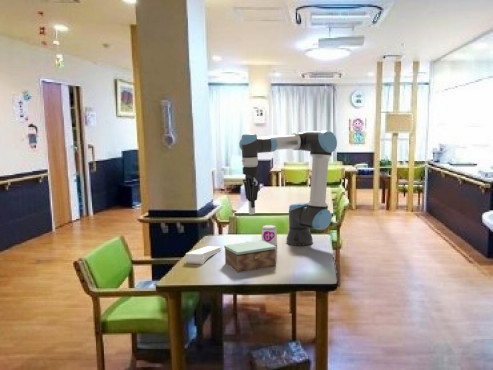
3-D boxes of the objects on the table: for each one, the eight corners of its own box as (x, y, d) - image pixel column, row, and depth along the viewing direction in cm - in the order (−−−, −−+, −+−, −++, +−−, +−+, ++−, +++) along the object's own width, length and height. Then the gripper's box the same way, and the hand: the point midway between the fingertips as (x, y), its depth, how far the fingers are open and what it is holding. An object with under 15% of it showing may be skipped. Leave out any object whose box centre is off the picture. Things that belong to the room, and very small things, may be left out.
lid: (261, 242, 225) (261, 240, 225) (276, 248, 210) (276, 246, 210) (224, 247, 217) (224, 245, 217) (237, 254, 202) (237, 252, 202)
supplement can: (276, 256, 228) (275, 228, 226) (260, 255, 230) (260, 227, 228) (278, 252, 236) (277, 224, 234) (263, 251, 237) (262, 224, 235)
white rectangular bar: (207, 259, 245) (185, 268, 219) (204, 246, 246) (182, 254, 219) (223, 256, 242) (203, 264, 216) (221, 243, 243) (200, 250, 216)
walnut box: (261, 257, 226) (260, 242, 225) (276, 266, 211) (276, 250, 210) (225, 263, 218) (224, 247, 217) (238, 273, 203) (238, 256, 202)
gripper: (237, 165, 215) (239, 212, 219) (249, 167, 204) (251, 217, 207) (251, 164, 219) (252, 210, 222) (263, 166, 207) (265, 215, 210)
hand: (252, 213), depth 214 cm, fingers closed
